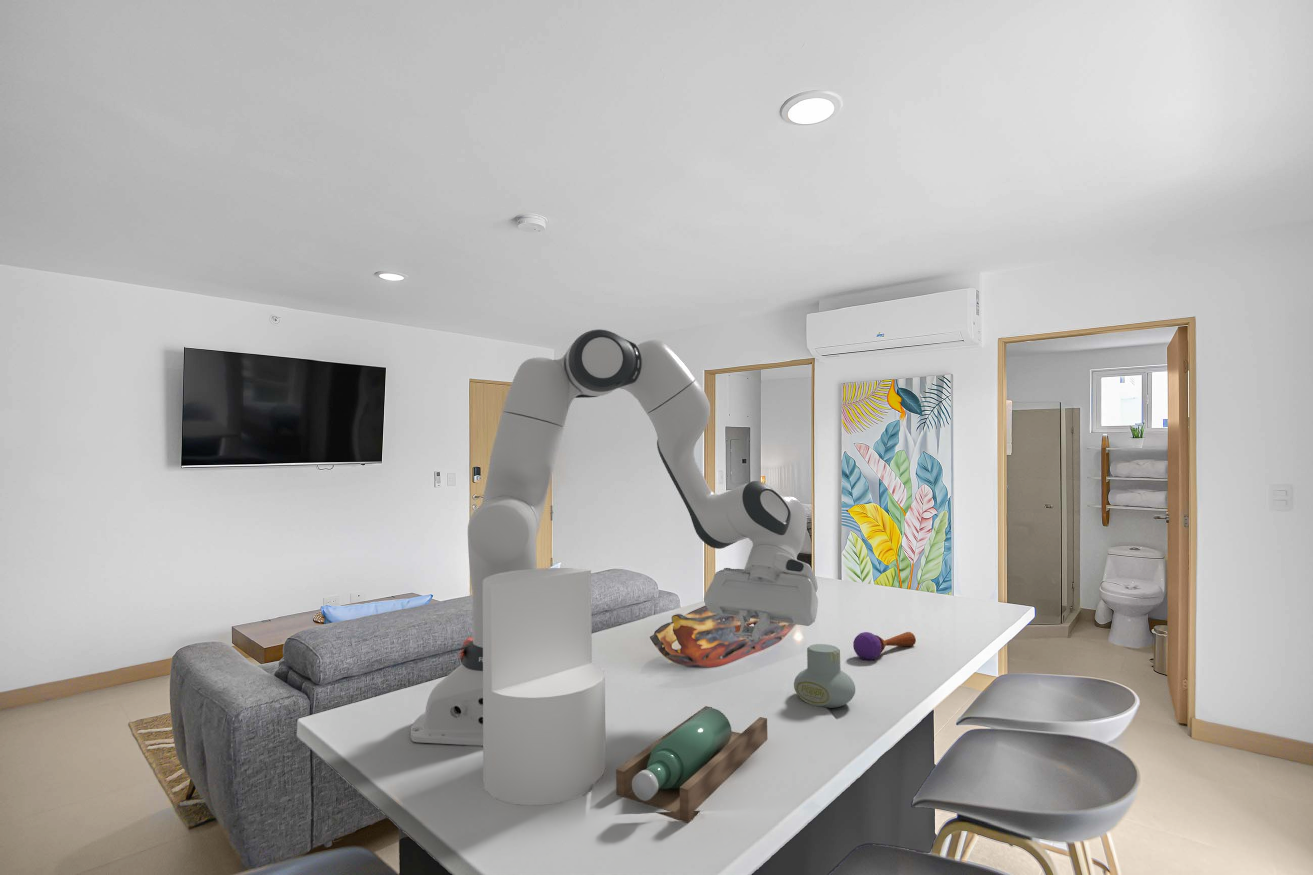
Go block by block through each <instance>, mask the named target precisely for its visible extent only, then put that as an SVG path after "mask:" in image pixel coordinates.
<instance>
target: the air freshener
mask: <svg viewBox="0 0 1313 875" xmlns="http://www.w3.org/2000/svg"><path fill="white" fill-rule="evenodd" d="M806 648H807V649H806V653H807V654H806V656H807V657H806V658H807V659H806V660H807V662H806V664H807V666H806V667H807V668H805V669H803V670H801V671H800V672H798V674H797V675H796V676H795V678H794V682H793V688H794V691H795V693H796V695H797V697H799V698H800V699H801V700H802V701H803V702H804V703H807V704H810V705H812V706H816V707H821V708H822V707H825V708H826V709H835V708H840V707H842V706H845V705H846V704H848V703H849V702H850V701H852V699H853V698H854V697H855V694H856V684H855V682H854V681H853V679H852V678H851V677H850V675H848V674H847V673H846V672H844V671H843V670H841V650H840V649H839V648H838V646H835V645H832V644H827V643H826V644H823V643H821V644H820V643H819V644H818V643H817V644H816V643H815V644H812V645H808V647H806Z"/></svg>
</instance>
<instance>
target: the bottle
mask: <svg viewBox="0 0 1313 875" xmlns="http://www.w3.org/2000/svg"><path fill="white" fill-rule="evenodd" d="M732 732H733V731H732V725H731V723H730V721H729V719H728V717H727V716H726V715H725V714H724V713H723V712H722V711H721V710H720V709H717V708H714V707H712V708H707V709H704V710H702V711H701V712H700V713H698V714H697V715H696V716H694V717H693V718H692V719H690V720H689V721H688V722H686V723H685V724H684V725H682V726H681V727H680V728H678V729H677V730H676V731H674V732H673V733H672V734H670V735H669V736H668V737H666V738H665V739H664V740H662V741H661V742H660V743H658V744H657V745H656V746H655V747H654V748H653V749H652V751H651V754H650V759H649V761H648V764H647V769H646V770H642V771H640V772H639V773H638V774H637V775H635V776H634V778H633V780H632V789H633V792H634V793H635V795H636V796H637V797H638V798H639V799H641V800H644V801H647V800H649V799H651V798H652V797H653V796H654V795H655V794H656V793H657V791H658V789H659V788H662V789H668V788H671V789H676V788H679V787H681V786H682V785H683V784H684V783H685V782H686V781H688V780H689V779H690V778H691V777H692V776H693V775H694V774H696V773H697V772H698V771H699V770H700V769H701V768H702V767H703V766H704V765H705V764H707V763H708V762H709V761H710V760H711V759H712V758H713V757H714V756H715V755H716V754H717V753H719V752H720V751H721V750H722V749H723V748H724V747H725V746H726V745H727V744H728V743H729V741H730V739H731V734H732Z"/></svg>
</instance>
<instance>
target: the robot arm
mask: <svg viewBox="0 0 1313 875" xmlns="http://www.w3.org/2000/svg"><path fill="white" fill-rule="evenodd" d="M617 389H621V390H624V391H627V392H629V393H630V394H631V395H632V396H633V397H634V399H636V400H637V401H638V402H639V404H640V406H641V408H642V409H643V410H644V411H645V414H646V415H647V416H648V418H649V420H650V422H651V423H652V425H653V428H654V430H655V433H656V437H657V440H656V448H657V451H658V454H659V457H660V458H661V462H662V463H663V465H664V467H665V469H666V471H667V473H668V475H669V477H670V479H671V480H672V483H673V485H674V486H675V488H676V490H677V491H678V494H679V496H680V498H681V499H682V502H683V503H684V505H685V507H686V510H687V511H688V513H689V516H690V518H691V519H690V520H691V523H692V525H693V528H694V531H695V533H696V535H697V536H698V537H699V539H700V540H701V541H702V542H703V543H704V544H705V545H707V546H709V547H710V548H713V549H719V550H720V549H726V548H727V547H728V546H731V545H734V544H735V543H737V542H739V541H743V540H746V539H749V540H750V541H751V543H752V546H751V549H750V552H749V554H748V556H747V560H746V563H745V566H744V569H743V568H730V567H724V568H723V569H721V570H718V571H716V572H715V574H714V576H713V579H712V581H711V582H710V584H709V586H708V588H707V590H706V592H705V593H704V594H705V595H704V596H703V603H704V604H705V607H706V609H707V610H708V611H709V613H710V614H714V615H723V616H730V617H737V618H739V622H740V629H739V633H738V634H739V637H740V639H742V640H743V639H744V640H749V641H750V640H751V641H756V642H757V641H759V638H760V635H761V633H762V632H764V631H765V630H766V629H767V628H768V627H769V626H770V623H771V622H775V623H783V624H789V625H796V626H803V627H805V626H806V627H809V626H812V624H813V623H815V622H816V620H817V619H816V618H817V614H818V606H819V599H818V595H817V592H818V587H819V586H818V581H817V578H816V575H815V573H814V570H813V569H812V567H811V565H810V564H809V563H806V562H804V561H801V560H798V559H797V558H798V555H799V553H800V552H801V551H802V548H803V545H804V542H805V537H806V533H807V529H808V528H807V527H808V526H807V525H808V518H807V517H808V516H807V511H806V507H805V505H803V504H802V502H800V500H799V499H798V498H795V497H793V496H792V495H786V494H779V493H778V492H776V490H774V489H773V488H772V487H771V486H769V485H768V484H767V483H764V482H762V481H759V480H752V481H749V482H747V483H744V484H741V485H739V486H737V487H733V488H732V489H730V490H728V491H726V492H723V493H720V494H717V493H715V492H713V491H712V489H711V488H710V486H709V484H708V482H707V481H706V477H704V475H703V473H702V471H701V468H700V466H699V465H698V462H697V460H696V459H695V447H696V443H697V442H698V440H699V439H700V438H701V436H702V435H703V433H704V431H705V430H706V428H707V426H708V423H709V421H710V417H711V416H710V415H711V403H710V401H709V398H708V396H707V394H706V392H705V390H704V389H703V387H702V386H701V385H700V383H699V382H698V381H697V379H696V378H695V376H694V375H693V373H692V372H691V371H690V369H689V368H688V366H687V365H685V363H684V362H683V361H682V360H681V358H680V357H679V356H678V355H677V354H676V353H675V352H674V351H673V349H671V347H669V346H668V345H667V344H666V343H664V342H663V341H660V340H657V339H653V340H646V341H643V342H641V343H639V344H636V343H634V342H632V341H630V340H628V339H626V338H624V337H622V336H620V335H619V334H617V333H615V332H612V331H609V330H607V329H601V328H600V329H592V330H589V331H585V332H584V333H582V334H581V335H580V336H578V337H577V338H576V339H575V340H574V341H573V342H572V343H571V345H570V347H569V348H568V349H567V351H566V352H565V354H564V355H563V356H562V357H561V358H559V359H551V358H549V357H548V358H547V357H532V358H529V359H526V360H524V361H523V362H522V363H521V364H520V365H519V367H518V369H517V371H516V373H515V376H514V377H513V379H512V382H511V384H510V387H509V389H508V391H507V395H506V398H505V401H504V404H503V408H502V411H501V415H500V419H499V422H498V426H497V430H496V434H495V437H494V441H493V444H492V449H491V453H490V456H489V464H488V465H489V466H488V471H487V476H486V482H485V487H484V492H483V496H482V501H481V504H480V505H479V506H478V507H477V508H476V509H475V510H474V512H473V513H472V514H471V517H470V518H469V521H468V524H467V547H468V548H467V549H468V550H467V551H468V552H467V553H468V562H469V564H468V565H469V573H470V574H469V575H470V584H471V592H472V593H471V595H472V596H471V597H472V637H468V638H466V640H464V642H463V645H462V647H461V649H460V651H459V654H460V655H459V659H460V663H461V664H460V665H459V666H458V667H456V668H455V669H454V670H453V671H451V672H450V673H449V674H448V675H447V676H445V677H444V678H443V679H442V680H440V682H438V683H437V684H436V686H435V687H434V688H433V689H432V690H431V692H430V694H429V696H428V699H427V701H426V706H425V711H424V712H423V713H422V714H420V715H419V716H418V717H417V718H416V719H415V720H414V722H413V724H412V725H411V727H410V740H411V741H412V742H413V743H414V742H415V743H423V744H424V743H425V744H443V745H446V744H447V745H462V746H463V745H464V746H465V745H466V746H480V747H481V746H482V747H483V580H484V579H485V578H487V577H489V576H491V575H495V574H499V573H504V572H510V571H518V570H527V569H538V568H537V566H538V565H537V535H538V533H539V529H540V524H541V520H542V517H543V513H544V509H545V505H546V501H547V496H548V492H549V488H550V483H551V480H552V476H553V472H554V467H555V463H556V460H557V457H558V452H559V448H560V443H561V440H562V437H563V431H564V428H565V423H566V420H567V416H568V412H569V410H570V407H571V404H572V402H573V401H574V399H577V398H579V399H581V398H589V399H590V398H598V397H602V396H605V395H608V394H610V393H612V392H613V391H615V390H617ZM751 620H758V621H757V622H756V623H755V624H754V626H752V625H747V623H748V624H749V623H750V621H751Z"/></svg>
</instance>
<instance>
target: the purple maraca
mask: <svg viewBox="0 0 1313 875" xmlns="http://www.w3.org/2000/svg"><path fill="white" fill-rule="evenodd" d="M916 642H917V640H916V636H915V634H914V633H913V632H911V631H905V632H903V633H901V634H898V635H895V636H893V637H890V638H888V639H883V638H882V637H880V636H879V635H877V634H874V633H872V632H868V631H864V632H860V633H858V634H857V635H856V636H855V637H854V639H853V642H852V643H853V645H852V646H853V650H854V652H855V654H856V655H857V657H859V658H860V659H863V660H865V661H866V660H867V661H871V660H875V659H876V658H878V657H879V656H880V654H881V653H883V651H884V650H885V648H886V647H887V646H888V647H889V646H890V647H892V646H893V647H895V646H896V647H913V646H914V645H915V644H916Z"/></svg>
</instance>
